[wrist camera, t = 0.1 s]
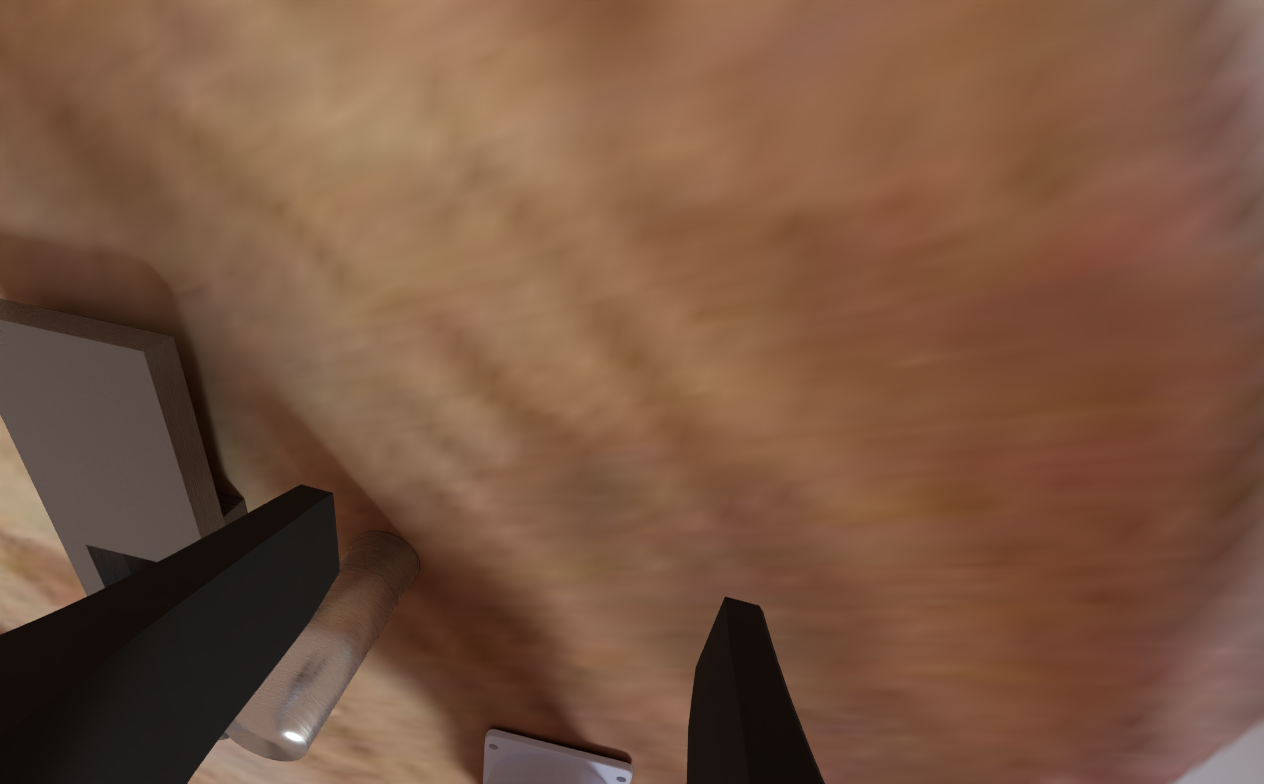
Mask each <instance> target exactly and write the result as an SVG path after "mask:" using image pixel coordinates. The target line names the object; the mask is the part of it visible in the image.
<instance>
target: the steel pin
mask: <svg viewBox="0 0 1264 784" xmlns="http://www.w3.org/2000/svg"><path fill="white" fill-rule="evenodd" d="M339 565H340V572H339V574H338V576H337V577H336V579H335V581H334V583H333V584H332V586H331V588H330V589H329V591H328V593H327V594H326V596H325V598H324V600H323V601H322V603H321V604H320V606H319V608H318V609H317V611H316V612H315V614H314V616H313V617H312V619H311V620H310V622H309V624H308V625H307V626H306V628H305V629H304V630H303V632H302V633H301V634H300V635H299V637H298V638H297V639H296V641H295V642H294V643H293V645H292V646H291V647H290V649H289V650H288V651H287V652H286V654H285V655H284V656H283V658H282V659H281V660H280V661H279V663H278V664H277V665H276V667H275V668H274V669H273V671H272V672H271V673H270V674H269V676H268V677H267V678H266V679H265V681H264V682H263V683H262V685H261V686H260V687H259V688H258V690H257V691H256V692H255V694H254V695H253V696H252V697H251V699H250V700H249V701H248V702H247V704H246V705H245V706H244V708H243V709H242V710H241V711H240V713H239V714H238V715H237V717H236V718H235V719H234V720H233V722H232V723H231V724H230V726H229V727H228V728H227V729H226V731H225V733H226V734H227V735H228V736H229V737H230V738H231V739H232V740H233V741H235V742H236V743H237V744H239V745H240V746H242V747H243V748H245V749H247V750H249V751H251V752H253V753H255V754H257V755H259V756H262V757H265V758H268V759H272V760H277V761H295V760H299V759H301V758H302V757H303V756H304V755H305V754H306V752H307V750H308V749H309V747H310V746H311V744H312V742H313V741H314V739H315V738H316V736H317V734H318V733H319V731H320V730H321V728H322V726H323V725H324V723H325V721H326V720H327V718H328V717H329V715H330V713H331V712H332V710H333V709H334V707H335V705H336V704H337V702H338V701H339V699H340V697H341V696H342V694H343V693H344V691H345V689H346V688H347V686H348V684H349V683H350V681H351V680H352V678H353V676H354V675H355V673H356V672H357V670H358V668H359V667H360V665H361V664H362V662H363V660H364V659H365V657H366V655H367V654H368V652H369V651H370V649H371V647H372V646H373V644H374V643H375V641H376V639H377V638H378V636H379V635H380V633H381V631H382V630H383V628H384V627H385V625H386V623H387V622H388V620H389V618H390V617H391V615H392V614H393V612H394V610H395V609H396V607H397V606H398V604H399V602H400V601H401V599H402V598H403V596H404V594H405V593H406V591H407V589H408V588H409V586H410V585H411V583H412V581H413V580H414V578H415V577H416V575H417V573H418V571H419V569H420V561H419V558H418V556H417V554H416V552H415V551H414V550H413V548H412V547H411V546H410V545H409V544H408V543H406V542H405V541H404V540H402V539H401V538H399V537H397V536H395V535H393V534H390V533H386V532H382V531H371V532H367V533H364V534H362V535H361V536H360V537H359V538H358V539H357V540H356V542H355V543H354V544H353V546H352V547H351V548H350V549H349V551H348V552H347V553H346V554H345V556H344V557H343V558H342V559H341V561H340V562H339Z"/></svg>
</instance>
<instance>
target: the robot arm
mask: <svg viewBox="0 0 1264 784" xmlns="http://www.w3.org/2000/svg"><path fill="white" fill-rule="evenodd" d="M339 572H340V565H339V554H338V543H337V532H336V520H335V509H334V498H333V493H331V492H327V491H324V490H320V489H316V488H312V487H309V486H305V485H299V486H297V487H295V488H293V489H292V490H290V491H288V492H286V493H284V494H282V495H280V496H278V497H277V498H275V499H273V500H271V501H269V502H268V503H266V504H264V505H262V506H260V507H259V508H257V509H255V510H253V511H251V512H249V513H248V514H246V515H244V516H242V517H240V518H239V519H237V520H235V521H233V522H231V523H229V524H228V525H226V526H224V527H222V528H220V529H219V530H217V531H215V532H213V533H211V534H209V535H207V536H206V537H204V538H202V539H200V540H198V541H196V542H194V543H192V544H191V545H189V546H187V547H185V548H183V549H181V550H179V551H177V552H176V553H174V554H172V555H170V556H168V557H166V558H164V559H162V560H160V561H158V562H156V563H154V564H152V565H150V566H148V567H146V568H144V569H142V570H140V571H138V572H136V573H134V574H132V575H130V576H128V577H126V578H124V579H122V580H120V581H118V582H116V583H114V584H112V585H110V586H108V587H106V588H104V589H102V590H100V591H98V592H96V593H94V594H92V595H90V596H87V597H85V598H83V599H81V600H79V601H77V602H75V603H72V604H70V605H68V606H66V607H64V608H62V609H59V610H57V611H55V612H53V613H50V614H48V615H46V616H44V617H41V618H39V619H37V620H35V621H32V622H30V623H27V624H25V625H23V626H20V627H18V628H16V629H13V630H11V631H9V632H6V633H4V634H2V635H0V784H187V783H188V781H189V780H190V778H191V777H192V775H193V774H194V772H195V771H196V770H197V768H198V767H199V765H200V764H201V763H202V761H203V760H204V759H205V757H206V756H207V754H208V753H209V752H210V750H211V749H212V748H213V746H214V745H215V743H216V742H217V741H218V740H219V738H220V737H221V736H222V734H223V733H224V732H225V731H226V729H227V728H228V727H229V726H230V724H231V723H232V722H233V720H234V719H235V718H236V717H237V715H238V714H239V713H240V711H241V710H242V709H243V708H244V706H245V705H246V704H247V702H248V701H249V700H250V699H251V697H252V696H253V695H254V694H255V692H256V691H257V690H258V688H259V687H260V686H261V685H262V683H263V682H264V681H265V679H266V678H267V677H268V676H269V674H270V673H271V672H272V671H273V669H274V668H275V667H276V665H277V664H278V663H279V661H280V660H281V659H282V658H283V656H284V655H285V654H286V652H287V651H288V650H289V649H290V647H291V646H292V645H293V643H294V642H295V641H296V639H297V638H298V637H299V635H300V634H301V633H302V632H303V630H304V629H305V628H306V626H307V625H308V624H309V622H310V620H311V619H312V617H313V616H314V614H315V612H316V611H317V609H318V608H319V606H320V604H321V603H322V601H323V600H324V598H325V596H326V594H327V593H328V591H329V589H330V588H331V586H332V584H333V583H334V581H335V579H336V577H337V576H338V574H339ZM632 773H633V767H632V766H631V765H630V764H629V763H626V762H623V761H619V760H615V759H611V758H607V757H603V756H599V755H595V754H591V753H587V752H583V751H579V750H575V749H571V748H567V747H563V746H559V745H555V744H551V743H547V742H544V741H540V740H536V739H532V738H528V737H524V736H520V735H516V734H512V733H508V732H504V731H500V730H496V729H491V730H489V731H488V732H487V734H486V737H485V747H484V770H483V784H630V781H631V778H632ZM687 784H825V783H824V780H823V778H822V776H821V774H820V771H819V769H818V766H817V764H816V762H815V759H814V757H813V754H812V752H811V749H810V747H809V744H808V742H807V739H806V737H805V734H804V731H803V729H802V726H801V724H800V721H799V719H798V716H797V713H796V711H795V708H794V706H793V703H792V700H791V697H790V695H789V692H788V689H787V686H786V683H785V680H784V677H783V674H782V671H781V669H780V666H779V663H778V660H777V656H776V653H775V650H774V647H773V644H772V641H771V637H770V634H769V631H768V627H767V624H766V620H765V617H764V613H763V611H762V609H761V608H760V606H759V605H755V604H751V603H747V602H743V601H740V600H736V599H732V598H728V597H725V598H724V600H723V603H722V605H721V607H720V610H719V612H718V615H717V617H716V620H715V622H714V624H713V627H712V629H711V632H710V634H709V637H708V639H707V641H706V644H705V646H704V649H703V651H702V653H701V656H700V658H699V661H698V663H697V666H696V670H695V677H694V685H693V693H692V701H691V709H690V718H689V726H688V758H687Z"/></svg>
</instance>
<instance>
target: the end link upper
mask: <svg viewBox="0 0 1264 784" xmlns="http://www.w3.org/2000/svg"><path fill="white" fill-rule="evenodd" d="M0 415H1V417H2V419H3V421H4V423H5V425H6V427H7V429H8V431H9V433H10V436H11V438H12V440H13V442H14V444H15V446H16V448H17V450H18V452H19V454H20V456H21V459H22V461H23V463H24V465H25V467H26V469H27V471H28V473H29V475H30V477H31V480H32V482H33V484H34V486H35V488H36V490H37V492H38V494H39V496H40V498H41V500H42V503H43V505H44V507H45V509H46V511H47V513H48V515H49V517H50V519H51V521H52V523H53V526H54V528H55V530H56V532H57V534H58V536H59V538H60V540H61V542H62V544H63V546H64V549H65V551H66V553H67V555H68V557H69V559H70V561H71V563H72V565H73V567H74V570H75V572H76V574H77V576H78V578H79V580H80V582H81V584H82V586H83V588H84V590H85V593H86V595H87V596H90V595H92V594H94V593H96V592H98V591H100V590H102V589H104V588H106V587H108V586H110V585H112V584H114V583H116V582H118V581H120V580H122V579H124V578H126V577H128V576H130V575H131V573H130V570H129V568H128V565H127V563H126V561H125V558H124V556H123V554H126V555H131V556H135V557H139V558H143V559H147V560H151V561H155V562H158V561H160V560H162V559H164V558H166V557H168V556H170V555H172V554H174V553H176V552H177V551H179V550H181V549H183V548H185V547H187V546H189V545H191V544H192V543H194V542H196V541H198V540H200V539H202V538H204V537H206V536H207V535H209V534H211V533H213V532H215V531H217V530H219V529H220V528H222V527H224V526H225V523H224V519H223V515H222V512H221V508H220V504H219V501H218V497H217V493H216V490H215V486H214V483H213V479H212V475H211V472H210V468H209V464H208V461H207V457H206V453H205V450H204V446H203V442H202V439H201V435H200V431H199V428H198V424H197V421H196V417H195V413H194V410H193V406H192V402H191V399H190V395H189V391H188V388H187V384H186V380H185V377H184V373H183V370H182V366H181V362H180V359H179V355H178V351H177V348H176V344H175V340H174V337H173V336H168V335H164V334H159V333H155V332H150V331H146V330H141V329H136V328H132V327H127V326H123V325H118V324H114V323H109V322H105V321H100V320H95V319H91V318H86V317H82V316H77V315H73V314H68V313H64V312H59V311H54V310H50V309H45V308H41V307H36V306H32V305H27V304H23V303H18V302H13V301H9V300H4V299H0Z"/></svg>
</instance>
